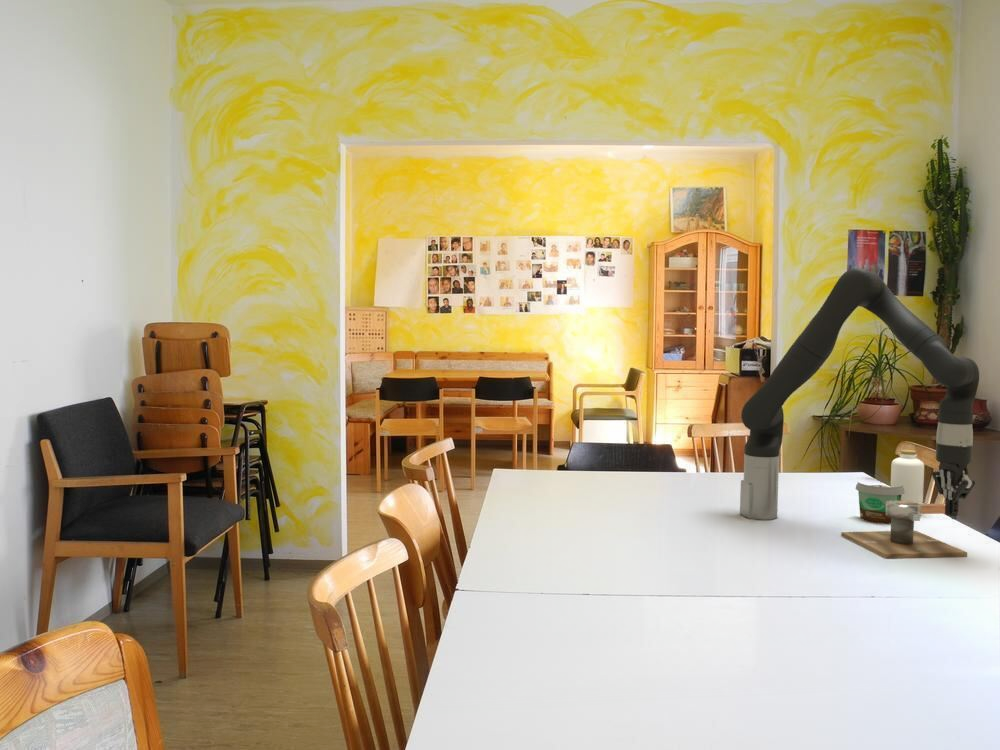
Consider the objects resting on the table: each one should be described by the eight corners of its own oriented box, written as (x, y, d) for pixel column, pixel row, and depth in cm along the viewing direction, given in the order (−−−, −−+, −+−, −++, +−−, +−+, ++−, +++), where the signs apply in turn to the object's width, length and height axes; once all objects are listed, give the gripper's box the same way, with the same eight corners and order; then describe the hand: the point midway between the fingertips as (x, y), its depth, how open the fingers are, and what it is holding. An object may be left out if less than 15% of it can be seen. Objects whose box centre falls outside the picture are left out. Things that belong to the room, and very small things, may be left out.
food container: (852, 521, 229) (853, 484, 228) (854, 516, 234) (855, 481, 233) (902, 526, 223) (904, 489, 222) (903, 521, 228) (904, 485, 228)
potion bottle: (915, 510, 241) (917, 448, 240) (927, 517, 233) (929, 453, 232) (885, 510, 242) (887, 448, 241) (895, 516, 234) (898, 452, 233)
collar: (901, 522, 197) (901, 508, 197) (875, 511, 208) (875, 498, 208) (964, 520, 199) (965, 507, 199) (935, 510, 210) (936, 497, 210)
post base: (885, 558, 193) (886, 528, 192) (841, 535, 213) (842, 508, 212) (967, 556, 195) (968, 526, 194) (915, 534, 215) (916, 507, 214)
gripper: (922, 438, 203) (919, 509, 204) (957, 446, 190) (954, 522, 191) (951, 438, 204) (948, 508, 205) (988, 446, 191) (985, 521, 192)
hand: (951, 515), depth 198 cm, fingers closed
